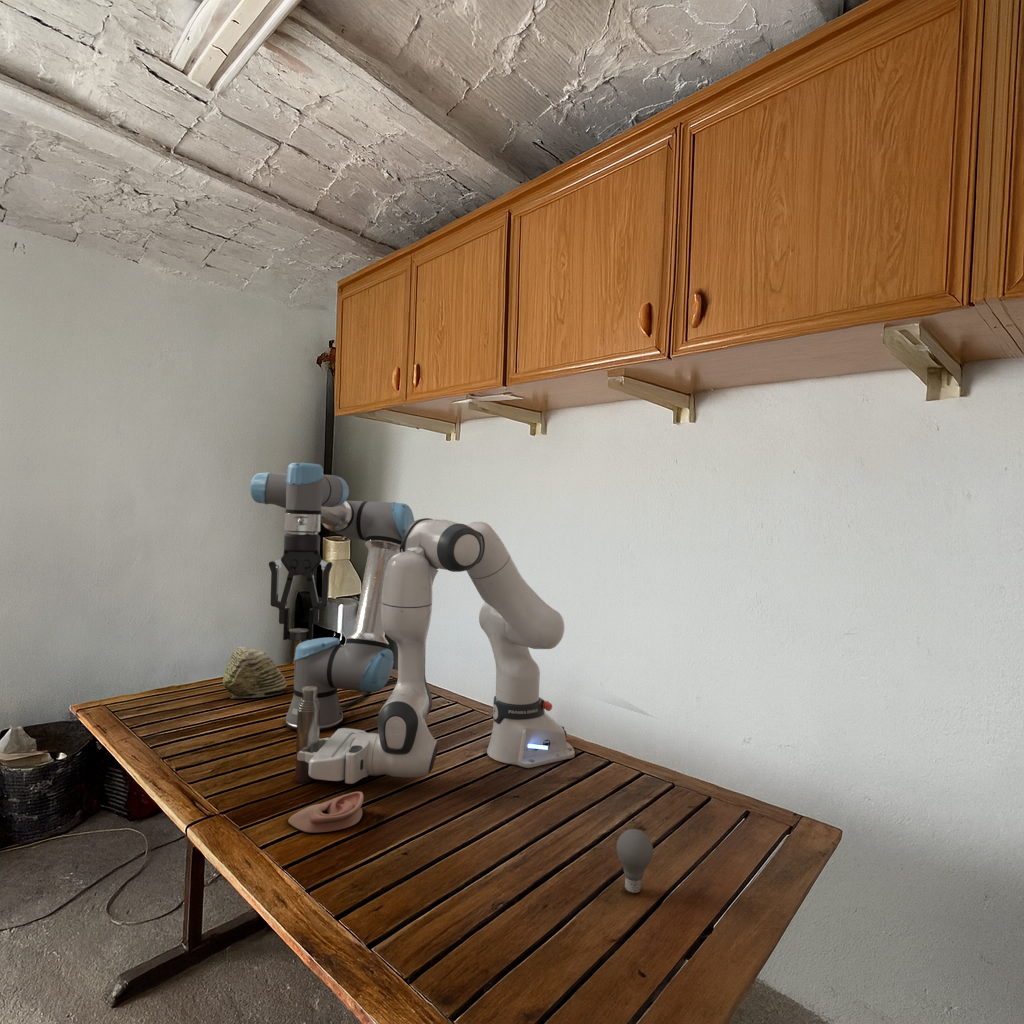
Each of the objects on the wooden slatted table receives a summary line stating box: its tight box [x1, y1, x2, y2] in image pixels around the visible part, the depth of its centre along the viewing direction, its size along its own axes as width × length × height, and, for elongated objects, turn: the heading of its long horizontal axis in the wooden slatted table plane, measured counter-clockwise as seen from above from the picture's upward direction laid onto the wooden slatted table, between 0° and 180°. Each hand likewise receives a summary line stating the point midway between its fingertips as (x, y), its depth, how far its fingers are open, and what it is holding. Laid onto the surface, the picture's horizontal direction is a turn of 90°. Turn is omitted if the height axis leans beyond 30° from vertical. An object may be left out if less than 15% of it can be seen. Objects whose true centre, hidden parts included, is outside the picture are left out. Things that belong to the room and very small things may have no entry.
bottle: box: [294, 686, 321, 784], centre depth 142 cm, size 5×5×20 cm
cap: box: [287, 627, 308, 642], centre depth 140 cm, size 5×5×2 cm
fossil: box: [222, 646, 288, 699], centre depth 198 cm, size 9×18×15 cm, turn 132°
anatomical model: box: [287, 791, 364, 834], centre depth 124 cm, size 13×4×12 cm
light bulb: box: [615, 828, 654, 894], centre depth 106 cm, size 6×6×10 cm
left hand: (298, 638), depth 140 cm, fingers closed on cap, 4 cm apart
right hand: (303, 749), depth 142 cm, fingers closed on bottle, 5 cm apart
